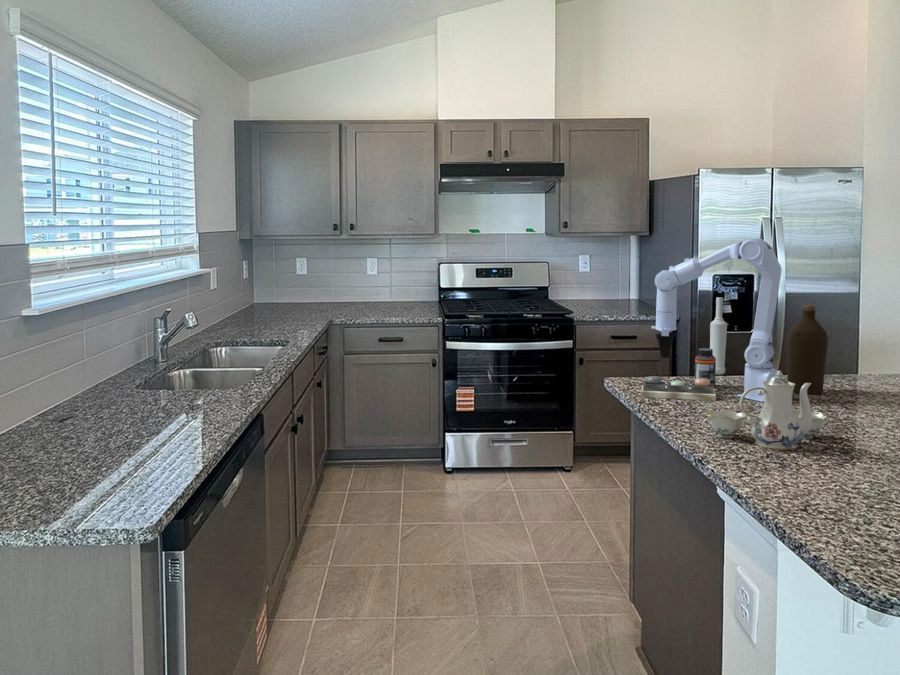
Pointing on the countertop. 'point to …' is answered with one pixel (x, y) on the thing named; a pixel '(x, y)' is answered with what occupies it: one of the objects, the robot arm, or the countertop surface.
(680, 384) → the button sage
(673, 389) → the panel
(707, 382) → the button terracotta
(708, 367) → the supplement bottle
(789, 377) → the olive oil
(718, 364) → the bottle
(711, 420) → the chinaware
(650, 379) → the button charcoal
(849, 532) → the countertop surface
